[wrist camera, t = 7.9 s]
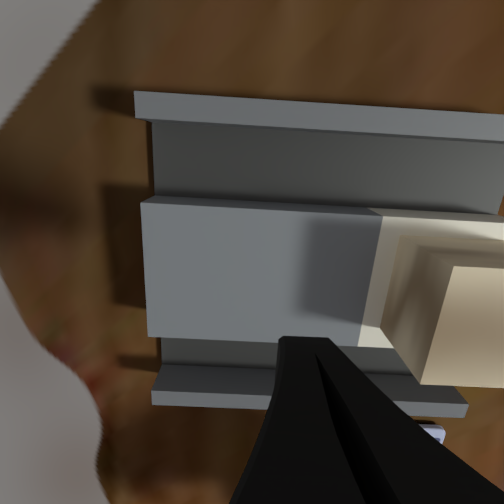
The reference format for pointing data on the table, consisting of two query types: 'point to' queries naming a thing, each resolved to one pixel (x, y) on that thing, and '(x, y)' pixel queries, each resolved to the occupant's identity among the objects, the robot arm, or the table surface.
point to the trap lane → (299, 234)
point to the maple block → (448, 310)
